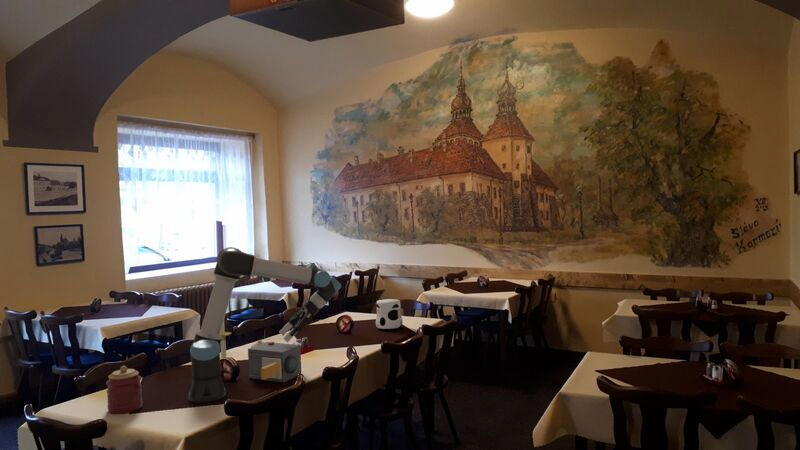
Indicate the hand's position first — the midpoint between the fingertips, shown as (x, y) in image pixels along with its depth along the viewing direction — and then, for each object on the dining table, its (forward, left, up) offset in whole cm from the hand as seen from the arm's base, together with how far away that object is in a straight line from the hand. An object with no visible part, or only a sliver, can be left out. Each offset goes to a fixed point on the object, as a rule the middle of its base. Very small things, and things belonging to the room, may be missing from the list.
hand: (283, 337), depth 271 cm
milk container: (+109, -1, -19) cm, 111 cm away
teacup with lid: (+17, +27, -19) cm, 37 cm away
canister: (-59, +36, -19) cm, 71 cm away
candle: (+9, +46, -19) cm, 51 cm away
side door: (-15, 0, -17) cm, 22 cm away
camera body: (-1, +5, -19) cm, 19 cm away
